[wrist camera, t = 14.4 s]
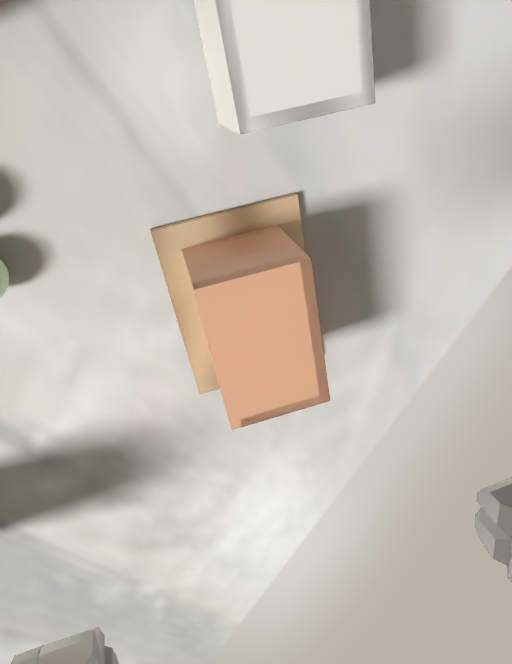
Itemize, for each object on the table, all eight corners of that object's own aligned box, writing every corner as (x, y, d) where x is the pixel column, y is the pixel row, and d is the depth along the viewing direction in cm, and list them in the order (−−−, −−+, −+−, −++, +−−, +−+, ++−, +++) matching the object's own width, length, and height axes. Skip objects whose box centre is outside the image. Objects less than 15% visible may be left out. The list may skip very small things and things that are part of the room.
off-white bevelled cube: (218, 123, 27) (240, 134, 22) (189, -18, 24) (206, -45, 19) (329, 98, 28) (375, 103, 23) (315, -42, 25) (365, -74, 19)
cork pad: (198, 390, 35) (199, 394, 34) (150, 229, 29) (150, 231, 28) (318, 355, 36) (320, 359, 35) (295, 193, 30) (297, 194, 29)
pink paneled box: (214, 371, 34) (231, 430, 28) (181, 249, 29) (193, 289, 24) (297, 347, 34) (330, 400, 29) (276, 224, 30) (311, 258, 24)
